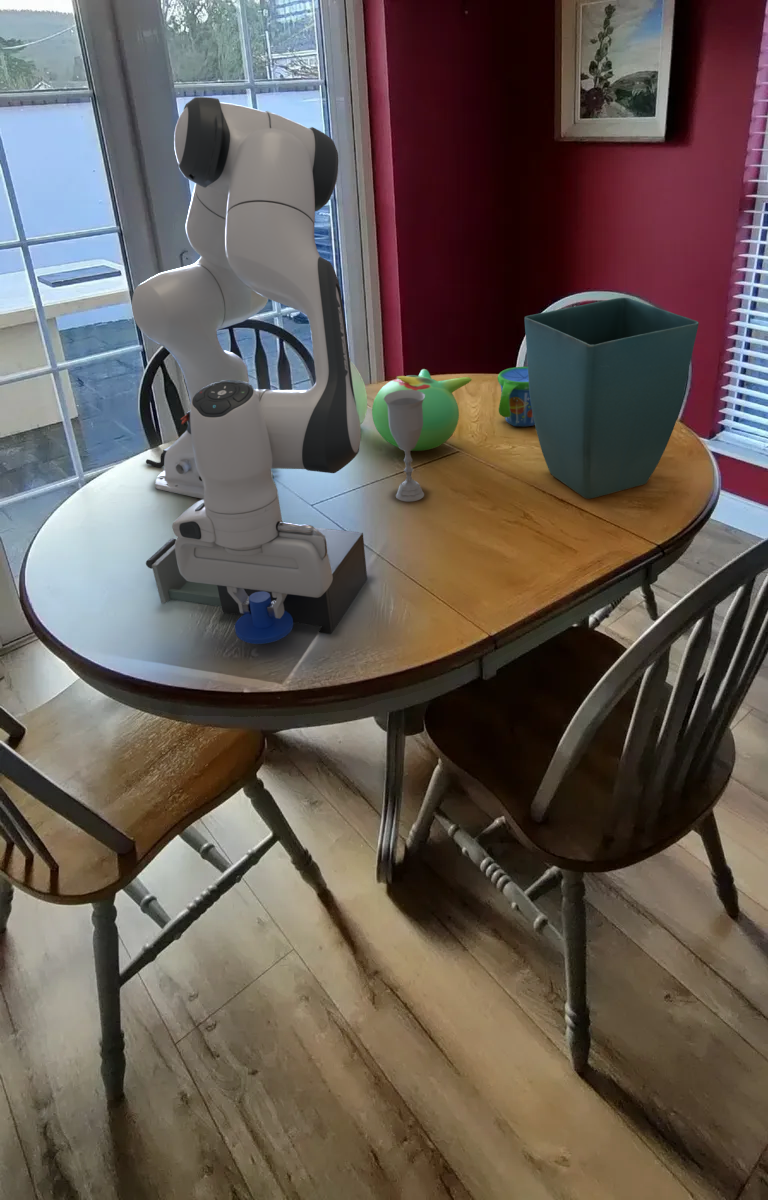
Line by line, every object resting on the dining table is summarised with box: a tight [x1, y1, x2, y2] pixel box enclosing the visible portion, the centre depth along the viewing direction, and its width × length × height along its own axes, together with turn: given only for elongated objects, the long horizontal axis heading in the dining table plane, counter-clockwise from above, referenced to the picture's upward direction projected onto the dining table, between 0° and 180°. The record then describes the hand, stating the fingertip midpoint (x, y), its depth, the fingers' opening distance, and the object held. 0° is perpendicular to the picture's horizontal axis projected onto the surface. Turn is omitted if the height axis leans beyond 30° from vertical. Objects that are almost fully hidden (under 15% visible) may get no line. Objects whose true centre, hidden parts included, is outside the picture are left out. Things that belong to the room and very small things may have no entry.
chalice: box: [384, 390, 425, 502], centre depth 142 cm, size 7×7×18 cm
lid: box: [234, 591, 294, 645], centre depth 108 cm, size 8×8×5 cm
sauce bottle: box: [349, 356, 368, 426], centre depth 171 cm, size 8×8×18 cm
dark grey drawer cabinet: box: [217, 527, 368, 635], centre depth 119 cm, size 17×15×8 cm
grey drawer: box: [145, 537, 221, 607], centre depth 123 cm, size 20×14×7 cm
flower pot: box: [524, 297, 700, 500], centre depth 140 cm, size 20×20×28 cm
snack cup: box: [497, 366, 535, 428], centre depth 170 cm, size 16×10×10 cm
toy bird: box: [371, 368, 473, 452], centre depth 162 cm, size 18×17×15 cm
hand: (262, 613), depth 108 cm, fingers closed on lid, 3 cm apart
